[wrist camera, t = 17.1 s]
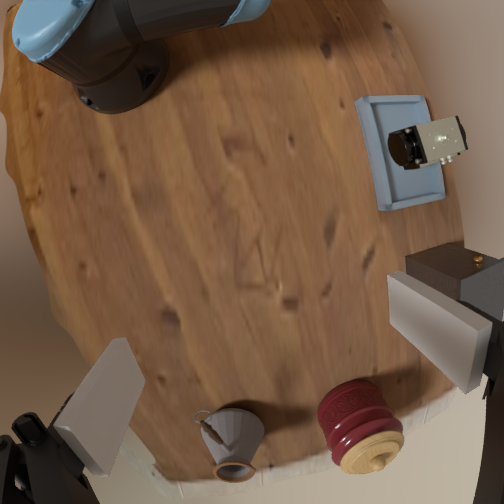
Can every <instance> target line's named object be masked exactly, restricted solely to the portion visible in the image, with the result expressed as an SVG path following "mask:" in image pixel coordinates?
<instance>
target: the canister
mask: <svg viewBox="0 0 504 504" xmlns="http://www.w3.org/2000/svg"><path fill="white" fill-rule="evenodd" d="M318 421H319V424H320V427H321V428H322V430H323V432H324V435H325V438H326V441H327V446H328V448H329V450H330V451H331V452H332V460H333V462H334V463H335V464H336V465H338V466H340V467H341V469H342V470H343V471H344V472H345V473H348V474H366V473H370V472H374V471H380V470H382V469H383V468H384V467H385V465H387V464H388V463H389V462H391V461H392V460H393V459H394V458H395V457H396V455H397V454H398V452H399V451H400V450H401V448H402V446H403V444H404V436H403V434H402V433H403V425H402V423H401V422H400V421H399V420H398V419H396V418H395V414H394V412H393V410H392V409H391V408H390V407H389V406H388V404H387V403H386V402H385V400H384V399H383V397H382V394H381V392H380V391H379V390H378V388H377V387H375V386H374V385H373V384H371V383H370V382H367V381H363V380H356V381H350V382H347V383H344V384H342V385H340V386H338V387H336V388H334V389H333V390H332V391H330V392H329V393H328V394H327V395H326V396H325V397H324V398H323V400H322V401H321V403H320V405H319V407H318Z"/></svg>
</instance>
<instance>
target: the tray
mask: <svg viewBox="0 0 504 504" xmlns="http://www.w3.org/2000/svg"><path fill="white" fill-rule="evenodd" d="M355 105H356V109H357V112H358V116H359V120H360V124H361V127H362V131H363V135H364V140H365V144H366V148H367V152H368V157H369V161H370V166H371V171H372V176H373V181H374V186H375V192H376V198H377V203H378V210H382V211H392V210H396V209H400V208H405V207H409V206H414V205H418V204H422V203H427V202H431V201H436V200H440V199H445V198H446V196H445V188H444V181H443V175H442V169H441V163H440V162H437V163H434V164H431V165H428V166H425V167H422V168H419V169H414V170H404V167H403V166H399V165H397V164H396V163H395V162H394V160H393V159H392V157H391V155H390V153H389V150H388V145H387V140H388V137H389V135H388V133H391V132H394V131H398V130H401V129H404V128H407V127H411V126H414V125H418V124H423V123H427V122H431V118H430V114H429V111H428V107H427V104H426V100H425V97H424V95H391V96H366V97H361V98H359V99H358V100H357V101H355Z"/></svg>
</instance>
